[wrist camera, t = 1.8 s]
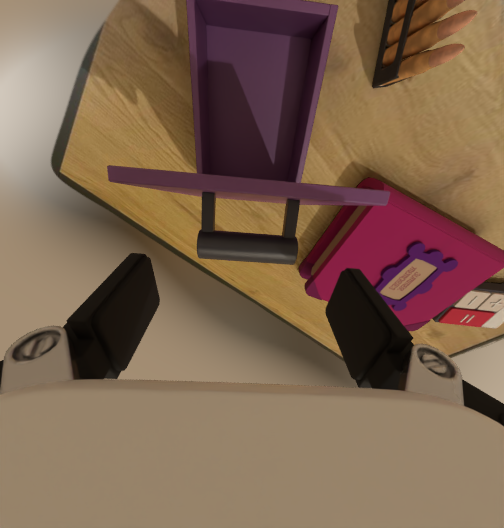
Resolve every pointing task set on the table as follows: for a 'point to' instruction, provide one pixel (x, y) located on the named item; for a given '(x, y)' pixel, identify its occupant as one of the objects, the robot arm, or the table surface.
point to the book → (401, 256)
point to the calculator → (477, 307)
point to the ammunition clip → (416, 38)
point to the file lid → (227, 187)
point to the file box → (256, 83)
